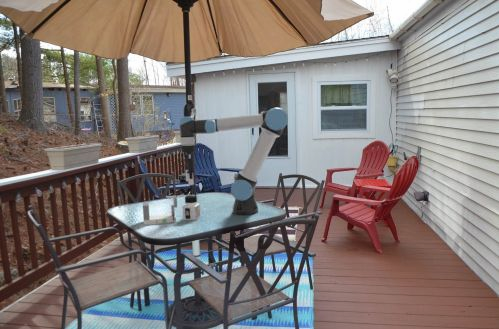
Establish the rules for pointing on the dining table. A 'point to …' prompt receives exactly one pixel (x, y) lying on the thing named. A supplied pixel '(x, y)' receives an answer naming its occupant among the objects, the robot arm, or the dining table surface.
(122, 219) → the dining table surface
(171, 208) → the gauge plate
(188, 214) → the container
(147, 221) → the gauge base
